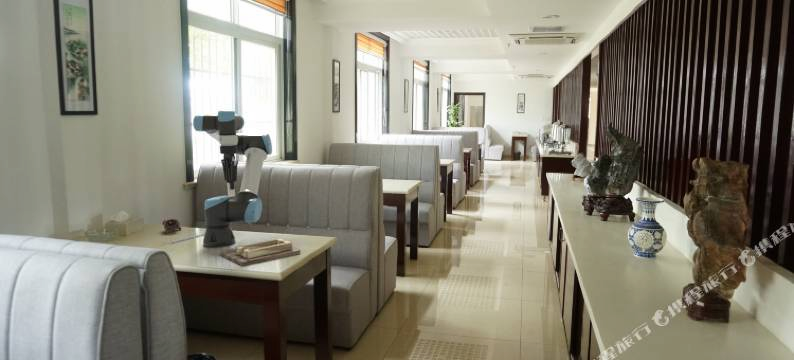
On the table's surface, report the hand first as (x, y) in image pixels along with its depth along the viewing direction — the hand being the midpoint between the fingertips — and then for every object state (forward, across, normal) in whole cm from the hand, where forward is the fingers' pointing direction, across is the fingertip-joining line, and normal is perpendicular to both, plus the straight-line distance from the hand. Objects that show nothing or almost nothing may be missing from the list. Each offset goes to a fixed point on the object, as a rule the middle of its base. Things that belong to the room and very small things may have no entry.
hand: (231, 196), depth 251 cm
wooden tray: (+25, +14, +8) cm, 29 cm away
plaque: (+27, -47, -6) cm, 55 cm away
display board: (+26, +11, +7) cm, 29 cm away
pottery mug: (+27, -67, -6) cm, 73 cm away
